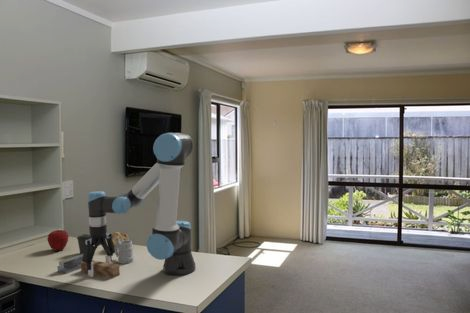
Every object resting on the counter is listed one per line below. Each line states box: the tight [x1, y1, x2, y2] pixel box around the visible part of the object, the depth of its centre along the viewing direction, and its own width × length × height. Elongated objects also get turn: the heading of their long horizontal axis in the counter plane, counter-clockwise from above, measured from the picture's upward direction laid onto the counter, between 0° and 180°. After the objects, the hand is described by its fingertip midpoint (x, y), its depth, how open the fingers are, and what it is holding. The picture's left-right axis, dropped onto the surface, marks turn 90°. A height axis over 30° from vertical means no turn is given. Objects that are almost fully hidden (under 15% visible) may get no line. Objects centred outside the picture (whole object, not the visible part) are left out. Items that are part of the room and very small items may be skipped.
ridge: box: [57, 254, 83, 274], centre depth 186 cm, size 6×14×5 cm, turn 149°
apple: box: [47, 229, 69, 251], centre depth 216 cm, size 11×11×12 cm
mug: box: [114, 236, 135, 264], centre depth 196 cm, size 8×12×12 cm, turn 57°
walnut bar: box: [80, 259, 121, 279], centre depth 178 cm, size 20×4×5 cm, turn 64°
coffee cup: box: [76, 234, 91, 255], centre depth 209 cm, size 8×8×10 cm
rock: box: [112, 231, 130, 250], centre depth 216 cm, size 12×10×10 cm
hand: (99, 272), depth 179 cm, fingers open, 9 cm apart
